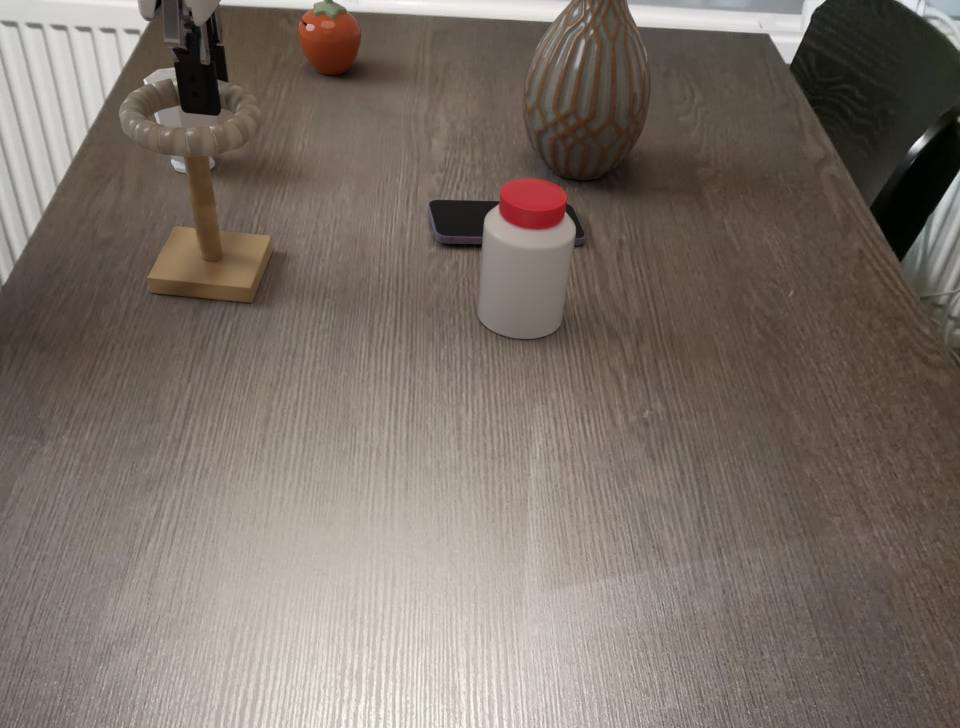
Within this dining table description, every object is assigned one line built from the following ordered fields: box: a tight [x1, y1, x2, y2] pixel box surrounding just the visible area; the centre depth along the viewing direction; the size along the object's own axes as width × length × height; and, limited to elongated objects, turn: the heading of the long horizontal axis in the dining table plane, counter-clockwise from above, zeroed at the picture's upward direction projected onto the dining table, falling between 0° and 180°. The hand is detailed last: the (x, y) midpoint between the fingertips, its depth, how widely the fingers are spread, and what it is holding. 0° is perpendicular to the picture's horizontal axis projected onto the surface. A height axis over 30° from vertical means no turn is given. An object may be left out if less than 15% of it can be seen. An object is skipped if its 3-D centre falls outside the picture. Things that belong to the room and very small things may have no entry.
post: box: [146, 156, 274, 304], centre depth 83 cm, size 9×9×12 cm
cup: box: [143, 67, 218, 174], centre depth 98 cm, size 7×10×8 cm
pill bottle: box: [476, 177, 576, 340], centre depth 82 cm, size 8×8×11 cm
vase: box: [522, 0, 652, 181], centre depth 99 cm, size 13×13×18 cm
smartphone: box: [427, 199, 586, 247], centre depth 96 cm, size 7×1×15 cm
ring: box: [118, 78, 264, 157], centre depth 77 cm, size 11×11×2 cm
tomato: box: [297, 0, 362, 76], centre depth 114 cm, size 7×7×8 cm
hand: (206, 103), depth 81 cm, fingers closed on ring, 2 cm apart
